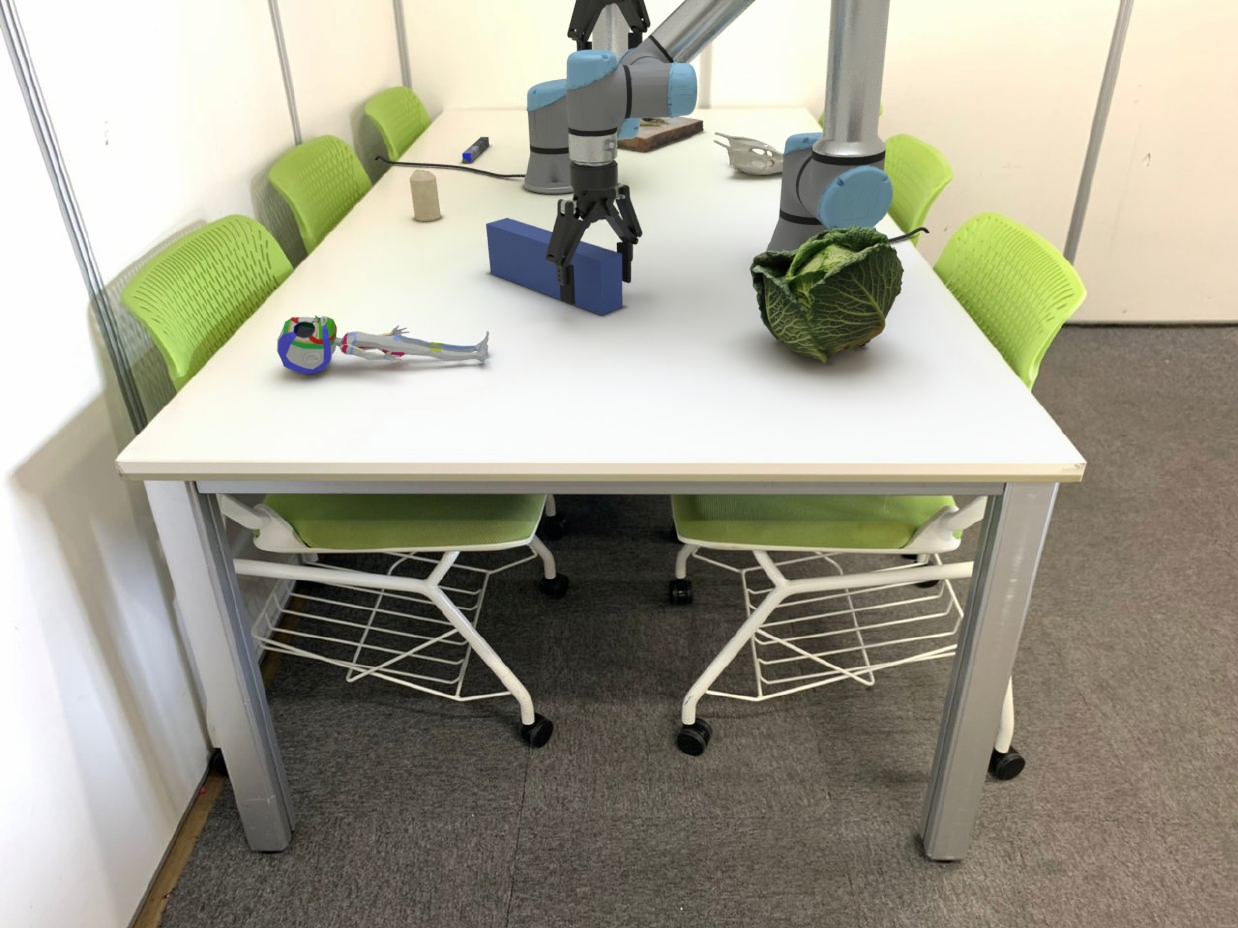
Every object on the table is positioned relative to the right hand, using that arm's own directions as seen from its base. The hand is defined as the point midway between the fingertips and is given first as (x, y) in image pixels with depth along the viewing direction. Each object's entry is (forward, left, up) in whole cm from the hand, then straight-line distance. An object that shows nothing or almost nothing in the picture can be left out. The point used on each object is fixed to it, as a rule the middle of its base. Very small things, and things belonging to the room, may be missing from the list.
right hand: (596, 291), depth 150 cm
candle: (+10, -63, -3) cm, 63 cm away
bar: (+3, -10, -3) cm, 11 cm away
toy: (+37, +5, -3) cm, 38 cm away
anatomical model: (-74, -56, -3) cm, 93 cm away
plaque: (-66, -109, -3) cm, 128 cm away
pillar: (-19, -112, -3) cm, 114 cm away
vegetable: (-22, +32, -3) cm, 39 cm away
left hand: (-20, -33, +28) cm, 48 cm away
